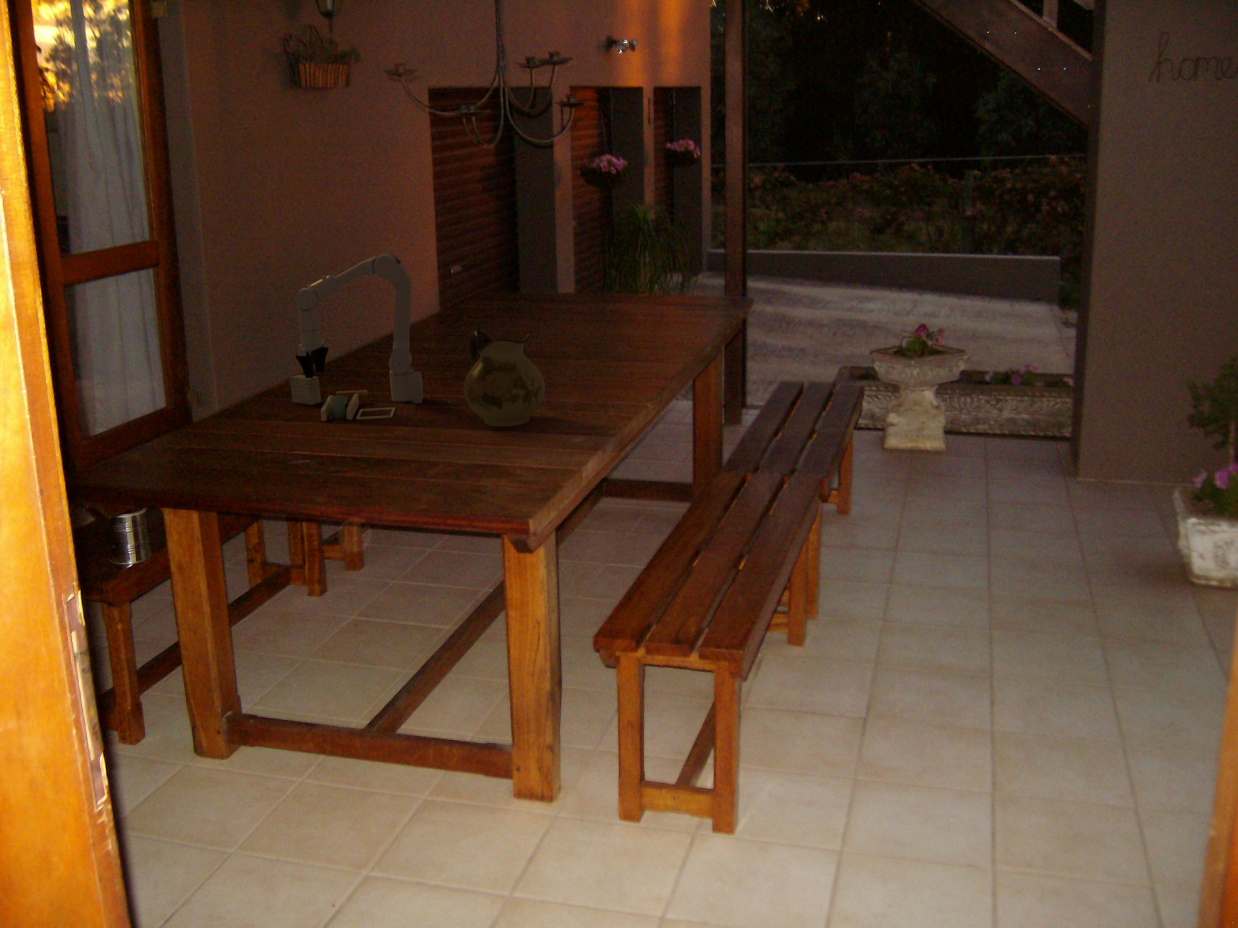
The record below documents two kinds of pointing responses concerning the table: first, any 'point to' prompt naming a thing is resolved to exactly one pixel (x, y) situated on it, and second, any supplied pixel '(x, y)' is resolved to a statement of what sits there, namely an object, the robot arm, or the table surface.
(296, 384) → the medicine box
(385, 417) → the tray
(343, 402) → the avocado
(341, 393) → the lever
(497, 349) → the pitcher
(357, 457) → the table surface
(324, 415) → the beige h-shaped piece
